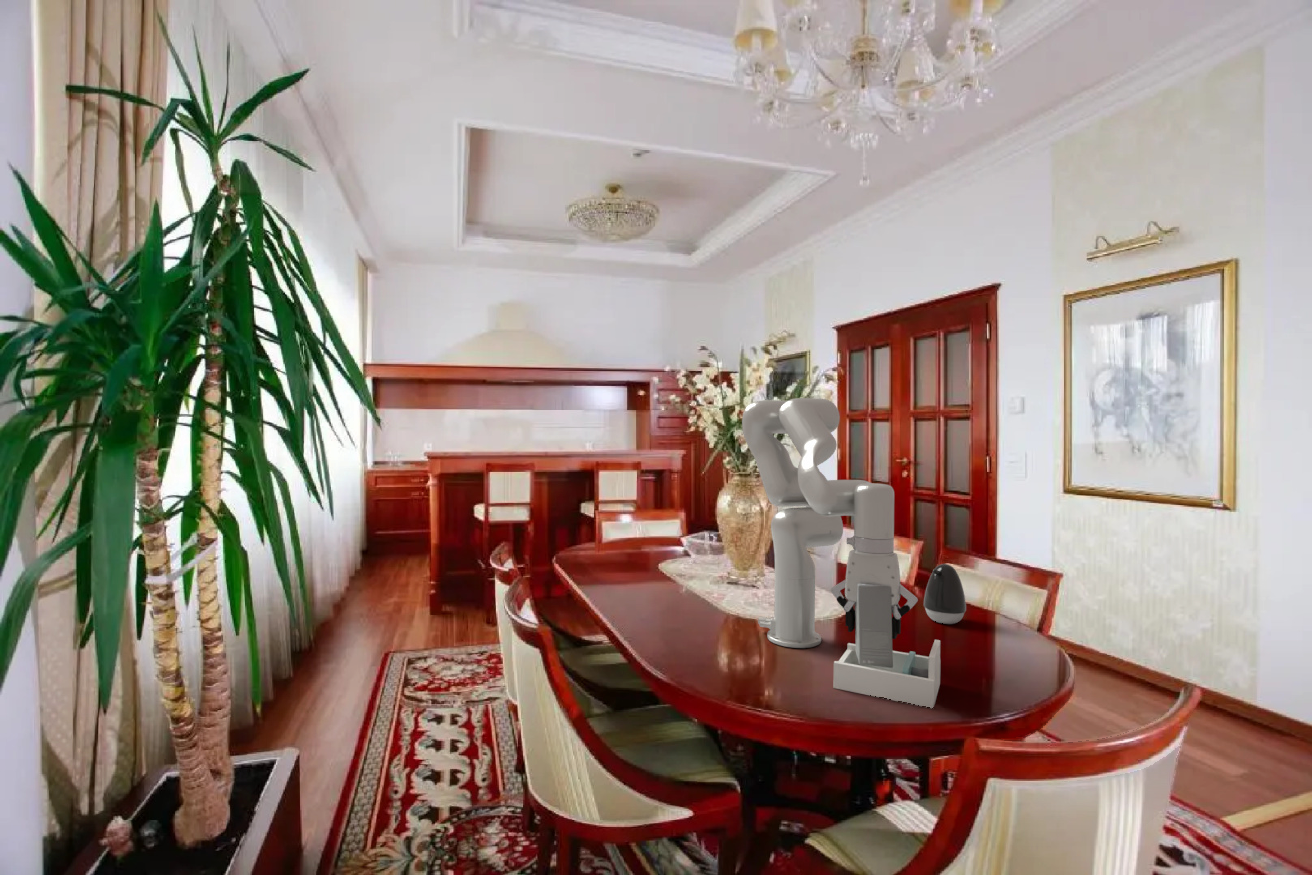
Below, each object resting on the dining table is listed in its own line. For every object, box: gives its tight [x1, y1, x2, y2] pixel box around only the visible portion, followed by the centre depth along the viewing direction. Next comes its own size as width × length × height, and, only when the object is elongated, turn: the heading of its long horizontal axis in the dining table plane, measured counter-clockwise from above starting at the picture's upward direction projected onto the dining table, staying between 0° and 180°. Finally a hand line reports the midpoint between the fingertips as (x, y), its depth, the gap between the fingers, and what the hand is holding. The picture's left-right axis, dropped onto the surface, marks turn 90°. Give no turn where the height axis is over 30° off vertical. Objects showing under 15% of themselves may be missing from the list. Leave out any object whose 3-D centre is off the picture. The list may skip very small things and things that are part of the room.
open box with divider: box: [832, 639, 941, 709], centre depth 125 cm, size 18×13×9 cm
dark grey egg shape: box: [923, 563, 967, 625], centre depth 167 cm, size 10×10×15 cm
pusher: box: [903, 650, 929, 678], centre depth 122 cm, size 4×10×5 cm, turn 151°
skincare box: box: [854, 583, 894, 668], centre depth 126 cm, size 8×7×16 cm
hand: (872, 633), depth 126 cm, fingers closed on skincare box, 7 cm apart
